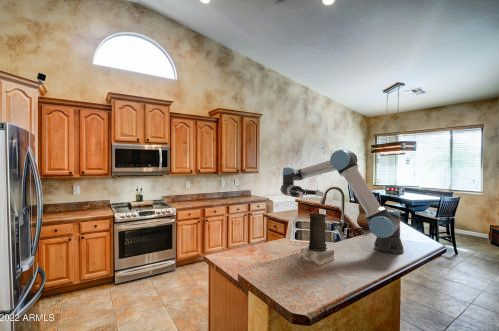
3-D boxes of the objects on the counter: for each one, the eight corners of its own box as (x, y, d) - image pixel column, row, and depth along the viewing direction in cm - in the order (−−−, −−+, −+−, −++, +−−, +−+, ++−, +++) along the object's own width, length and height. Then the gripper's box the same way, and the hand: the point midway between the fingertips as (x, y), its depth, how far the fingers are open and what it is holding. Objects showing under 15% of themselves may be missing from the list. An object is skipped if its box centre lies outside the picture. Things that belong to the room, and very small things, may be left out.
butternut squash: (357, 230, 194) (357, 197, 194) (356, 226, 207) (356, 196, 207) (377, 232, 190) (377, 198, 190) (374, 228, 202) (375, 196, 203)
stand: (334, 259, 132) (334, 249, 132) (319, 264, 124) (319, 254, 124) (314, 253, 141) (315, 244, 141) (300, 257, 134) (300, 248, 134)
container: (330, 250, 131) (330, 215, 131) (317, 252, 127) (317, 216, 127) (317, 245, 139) (317, 212, 139) (304, 247, 134) (305, 213, 135)
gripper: (311, 196, 172) (330, 200, 151) (277, 197, 164) (293, 201, 144) (311, 185, 172) (330, 187, 152) (277, 185, 164) (293, 188, 144)
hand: (312, 194), depth 148 cm, fingers open, 13 cm apart
